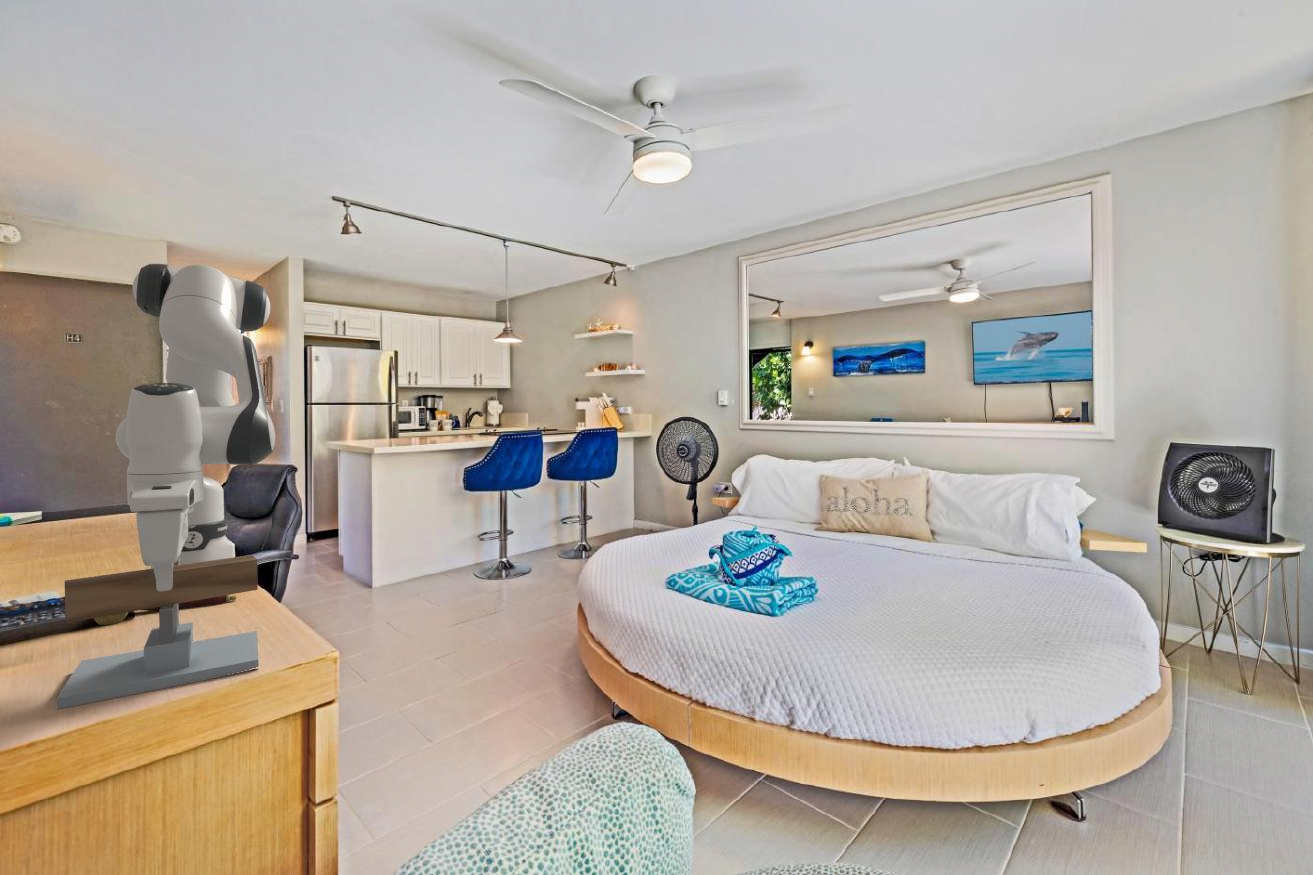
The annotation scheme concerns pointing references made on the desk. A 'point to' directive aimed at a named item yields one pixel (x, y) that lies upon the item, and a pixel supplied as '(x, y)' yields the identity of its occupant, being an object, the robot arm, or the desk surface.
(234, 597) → the gavel
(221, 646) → the ridge stand
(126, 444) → the robot arm
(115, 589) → the bar
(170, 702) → the desk surface
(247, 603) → the desk surface
